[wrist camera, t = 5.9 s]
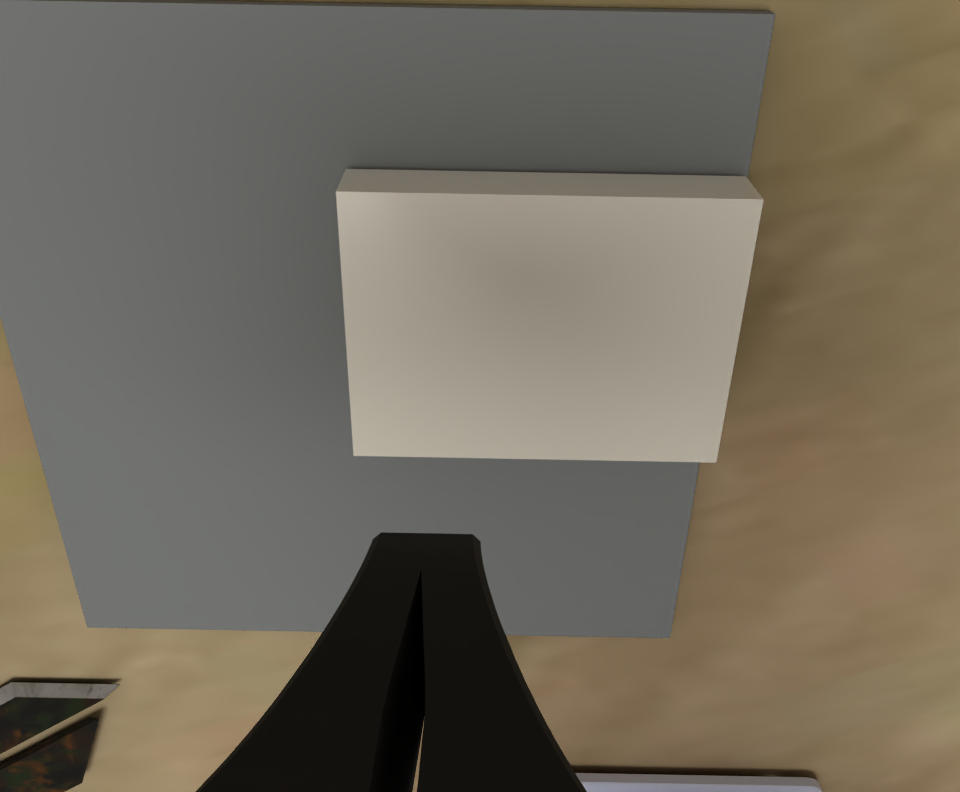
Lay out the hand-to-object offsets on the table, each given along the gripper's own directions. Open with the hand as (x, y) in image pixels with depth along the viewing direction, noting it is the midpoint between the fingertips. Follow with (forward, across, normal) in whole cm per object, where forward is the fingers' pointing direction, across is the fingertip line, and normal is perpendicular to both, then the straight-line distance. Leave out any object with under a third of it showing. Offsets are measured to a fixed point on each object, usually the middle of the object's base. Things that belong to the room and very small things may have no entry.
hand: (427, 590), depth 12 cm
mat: (+9, +2, +2) cm, 10 cm away
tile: (+8, +2, 0) cm, 8 cm away
